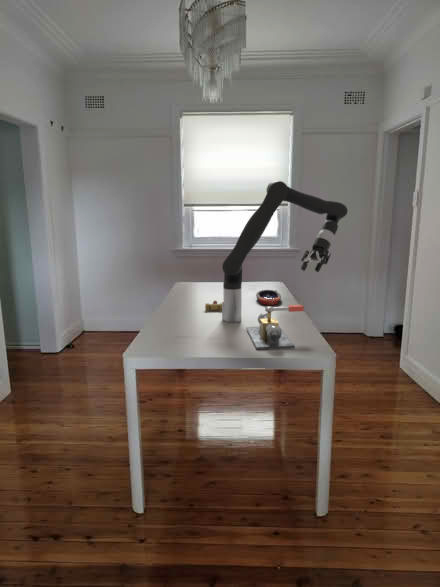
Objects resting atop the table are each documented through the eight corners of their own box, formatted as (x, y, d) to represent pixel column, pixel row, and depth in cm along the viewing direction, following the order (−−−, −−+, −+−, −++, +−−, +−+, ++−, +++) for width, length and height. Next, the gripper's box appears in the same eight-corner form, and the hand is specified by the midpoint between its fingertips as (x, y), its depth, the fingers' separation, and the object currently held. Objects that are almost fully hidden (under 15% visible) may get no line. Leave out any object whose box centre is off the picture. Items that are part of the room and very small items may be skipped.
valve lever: (266, 312, 164) (266, 307, 163) (264, 310, 167) (264, 305, 167) (303, 311, 165) (304, 306, 165) (301, 309, 169) (301, 304, 168)
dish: (279, 295, 251) (279, 288, 250) (282, 307, 221) (282, 299, 220) (256, 295, 252) (256, 288, 251) (255, 307, 223) (256, 299, 222)
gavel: (207, 298, 233) (223, 298, 233) (207, 305, 234) (223, 305, 234) (205, 304, 212) (223, 304, 212) (205, 312, 213) (223, 312, 213)
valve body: (246, 329, 181) (246, 304, 178) (279, 328, 182) (279, 303, 180) (256, 349, 155) (256, 321, 152) (294, 348, 156) (295, 320, 153)
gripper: (307, 237, 183) (293, 265, 180) (331, 236, 171) (316, 267, 168) (316, 245, 187) (302, 273, 184) (339, 245, 175) (325, 275, 172)
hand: (309, 270), depth 176 cm, fingers open, 8 cm apart
